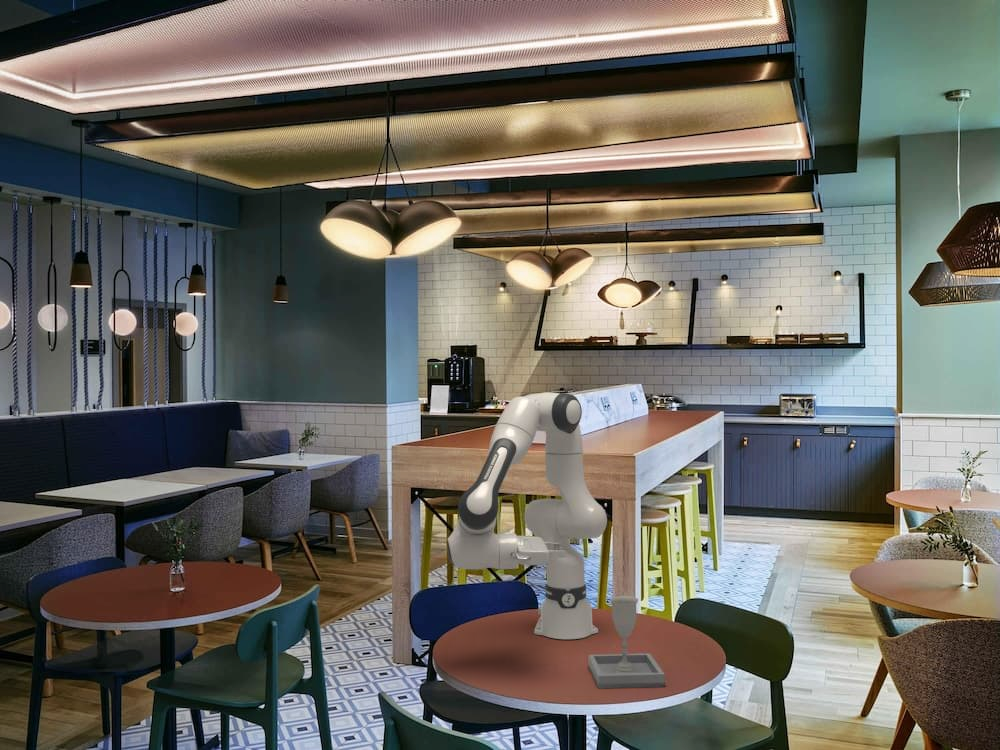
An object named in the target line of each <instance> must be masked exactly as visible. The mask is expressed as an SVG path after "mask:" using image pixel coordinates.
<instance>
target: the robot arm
mask: <svg viewBox="0 0 1000 750" xmlns="http://www.w3.org/2000/svg"><path fill="white" fill-rule="evenodd" d="M582 414H583V410H582V406H581V403H580V401H579V400H578V398H577V396H576V395H573V394H571V393H566V392H561V393H560V392H550V391H549V392H547V391H545V392H539V393H525V394H521V395H519V396H516V397H514V398H512V399H511V400H510V401H509V402H508V404H507V405H506V407H505V408H504V409H503V411H502V413H501V415H500V416H499V418H498V420H497V422H496V424H495V427H494V429H493V432H492V434H491V438H490V442H489V445H488V446H489V447H488V455H487V457H486V459H485V462H484V464H483V467H482V468H481V470H480V472H479V474H478V477H477V479H476V480H475V482H474V483H473V485H471V486H470V487H469V488H468V489H467V490H466V491H464V493H463V494H462V495H461V497H459V501H458V504H457V512H458V515H459V516H458V517H459V518H458V519H457V522H456V525H455V527H454V529H453V531H452V532H451V534H450V535H449V536H448V537H447V539H446V550H447V556H448V559H449V560H448V561H449V563H450V564H451V565H452V567H454V568H456V569H463V570H485V569H488V568H489V569H491V568H493V569H496V570H516V569H518V564H520V565H523V566H546V568H545V569H546V583H545V589H544V592H545V593H544V595H545V599H544V602H542V604H541V606H538V607H537V614H538V615H539V618H538V620H537V623H536V625H535V627H534V631H533V633H534V634H535V635H539V636H544V637H547V638H551V639H557V640H576V639H577V640H578V639H579V640H580V639H583V638H587V637H590V636H591V635H594V634H598V633H599V629H598V627H596V626H595V625H594V624H593V610H592V604H591V602H590V601H588V600H587V598H586V597H587V585H586V583H585V560H584V557H583V555H582V554H581V553H580V552H579V551H577V550H576V549H574V547H573V546H572V545H571V544H570V543H571V542H570V541H569V539H575V540H576V539H579V540H587V539H590V540H591V539H595V538H599V537H601V536H602V535H603V534H604V532H605V530H606V528H607V523H608V517H607V513H606V511H605V509H604V507H603V506H602V505H601V504H599V503H598V502H597V500H596V499H595V498H594V497H593V496H592V495H591V492H590V491H589V488H588V486H587V484H586V480H585V475H584V474H585V472H584V456H583V455H584V451H583V450H584V448H583V438H582V432H581V426H580V422H581V418H582ZM537 432H545V434H546V435H545V448H544V449H545V450H544V451H545V453H544V455H545V456H544V457H545V459H544V462H545V467H544V469H545V478H546V481H547V482H548V483H549V484H550V485H551V486H553V487H554V488H555V489H556V490H557V491H558V492H559V493H560V497H561V499H559V498H538V499H535V500H531V501H530V502H529V503H528V504H527V506H526V508H525V510H524V517H523V518H524V524H525V526H526V528H527V529H528V531H530V532H531V533H532V535H534V536H532V535H531V536H530V535H517V533H495V531H494V530H495V528H496V523H497V515H498V513H499V492H500V489H501V487H502V486H503V482H504V480H505V478H506V476H507V474H508V471H509V469H510V467H512V466H513V465H514V466H515V465H517V464H520V463H522V461H523V460H524V458H525V457H526V456H527V454H528V452H529V451H530V449H531V446H532V444H533V441H534V440H535V439H534V438H535V437H536V433H537Z"/></svg>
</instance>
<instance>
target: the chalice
mask: <svg viewBox="0 0 1000 750" xmlns="http://www.w3.org/2000/svg"><path fill="white" fill-rule="evenodd" d="M609 600H610V602H611V605H612V607H611V608H612V609H611V610H612V611H611V614H612V615H611V616H612V617H611V619H612V622H613V624H614V627H615V630H616V632H617V634H618V636H619V637H621V638H622V643H621V647H622V651H621V653H620V654H623V660H622V661H621V662H619V663H618V666H617V668H616V671H615V673H616V674H625V673H635V671H634V668H633V666H632V664H631V663H630V662H628V660H627V654H629V651H628V646H629V643H628V641H627V640H628V639H627V638H628V637H630V636H631V635H632V632H634V631H633V630H634V628H635V626H636V622H637V616H638V615H637V603H638V602H639V598H637V597H635V596H630V595H620V596H619V595H617V596H613V597H611V598H610V599H609Z"/></svg>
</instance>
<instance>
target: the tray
mask: <svg viewBox="0 0 1000 750" xmlns="http://www.w3.org/2000/svg"><path fill="white" fill-rule="evenodd" d="M587 657H588V659H587V660H588V662H587V663H588V664H587V665H588V669H589V670H590V673H591V675H592V677H593V679H594V682H595V683H596V686H597V688H598V689H599V688H600V689H627V688H629V689H630V688H631V689H632V688H633V689H634V688H635V689H636V688H637V689H638V688H665V687H666V676H665V675H666V673H664V671H663V669H662V668H661V667H660V666H659V664H658V663H657V661H656V660H655V659H654V657H653V656H652V654H651V653H650V652H648V653H628V654H627V660H628V662H630V663H631V664H632V666H633V668H634V671H635V673H625V674H616V673H615V671H616V668H617V666H618V663H619V662H621V661H622V660H623V654H622V653H611V654H609V653H608V654H607V653H606V654H588V655H587Z"/></svg>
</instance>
